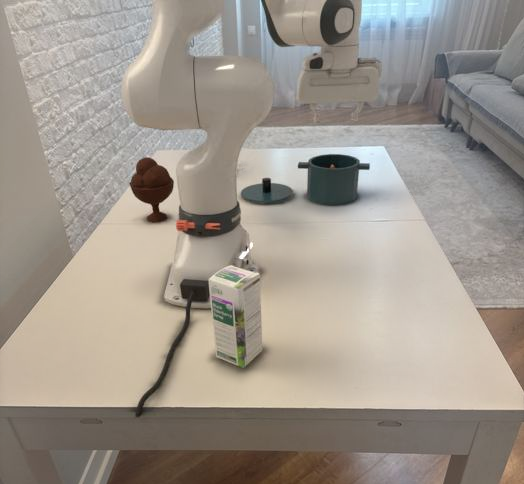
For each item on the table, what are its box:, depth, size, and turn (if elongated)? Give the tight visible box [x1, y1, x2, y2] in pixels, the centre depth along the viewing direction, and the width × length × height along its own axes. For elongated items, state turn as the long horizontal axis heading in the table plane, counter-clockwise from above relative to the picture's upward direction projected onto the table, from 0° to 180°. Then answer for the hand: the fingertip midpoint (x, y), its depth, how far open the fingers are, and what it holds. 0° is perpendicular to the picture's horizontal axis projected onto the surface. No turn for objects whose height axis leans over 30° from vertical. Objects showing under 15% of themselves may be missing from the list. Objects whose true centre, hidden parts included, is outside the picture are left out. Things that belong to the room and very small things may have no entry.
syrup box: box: [209, 265, 263, 369], centre depth 76 cm, size 6×6×14 cm
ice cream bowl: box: [128, 156, 175, 224], centre depth 123 cm, size 11×11×15 cm
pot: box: [297, 153, 371, 206], centre depth 134 cm, size 14×19×10 cm
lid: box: [240, 177, 294, 204], centre depth 137 cm, size 15×15×5 cm
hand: (335, 121), depth 125 cm, fingers open, 8 cm apart
